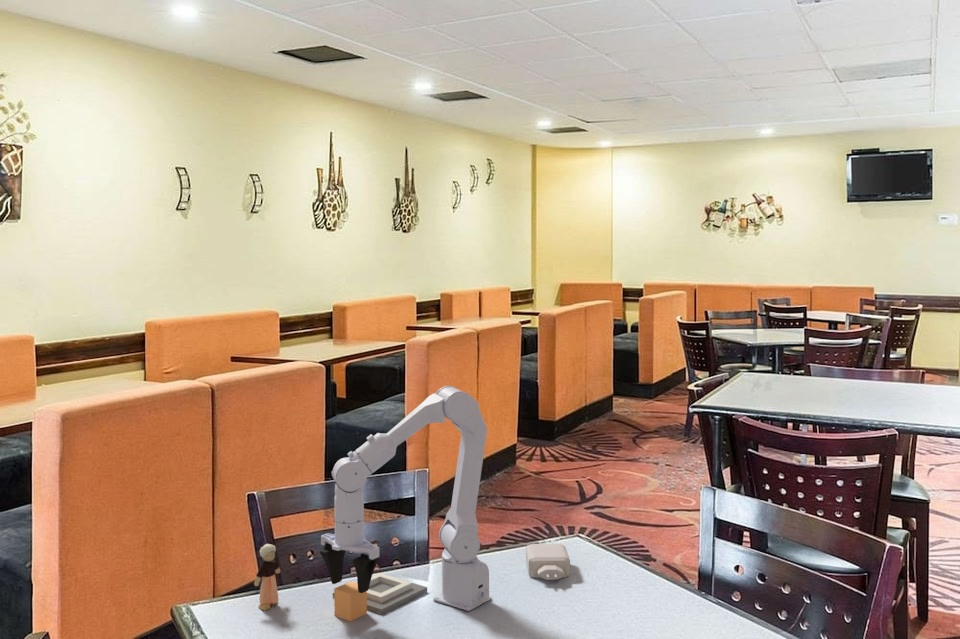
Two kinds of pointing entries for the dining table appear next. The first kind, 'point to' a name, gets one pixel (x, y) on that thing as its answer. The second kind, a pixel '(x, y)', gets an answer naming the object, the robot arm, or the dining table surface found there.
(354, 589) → the block
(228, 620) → the dining table surface
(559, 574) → the charger
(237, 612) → the dining table surface
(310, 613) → the dining table surface
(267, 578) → the grandmother figurine
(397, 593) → the socket plate
